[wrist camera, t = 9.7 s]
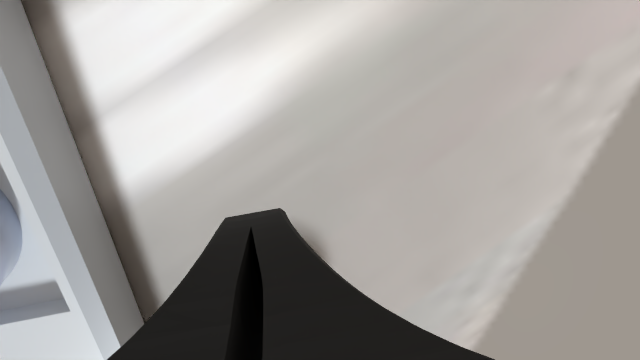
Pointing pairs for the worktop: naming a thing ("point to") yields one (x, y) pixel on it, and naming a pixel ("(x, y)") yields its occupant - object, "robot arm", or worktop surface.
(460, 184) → the worktop surface
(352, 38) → the worktop surface
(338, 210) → the worktop surface
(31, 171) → the tray
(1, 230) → the disc
